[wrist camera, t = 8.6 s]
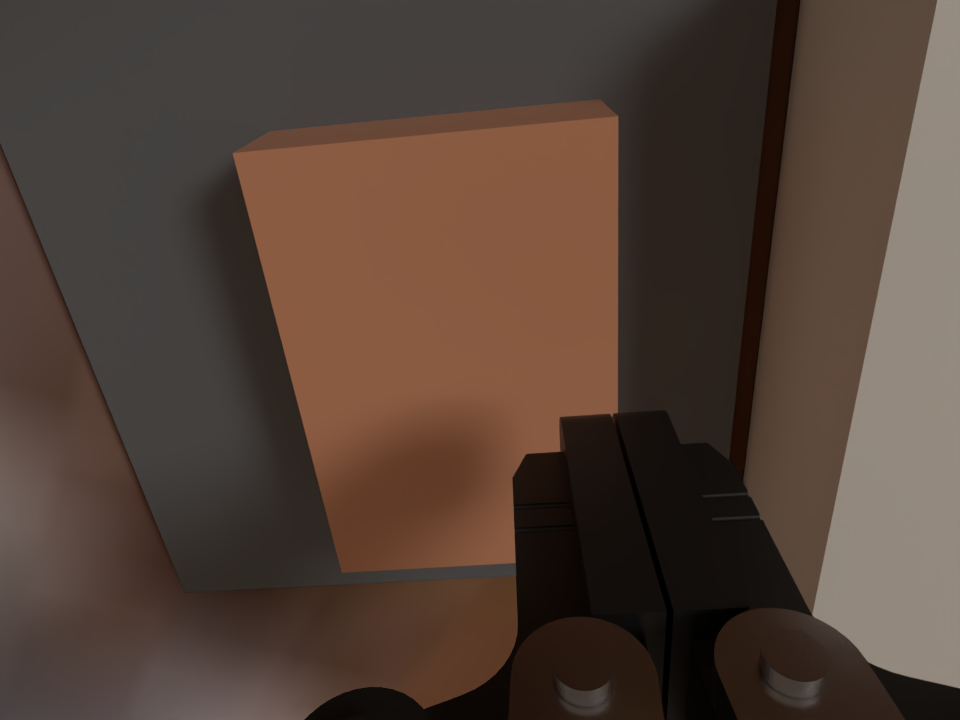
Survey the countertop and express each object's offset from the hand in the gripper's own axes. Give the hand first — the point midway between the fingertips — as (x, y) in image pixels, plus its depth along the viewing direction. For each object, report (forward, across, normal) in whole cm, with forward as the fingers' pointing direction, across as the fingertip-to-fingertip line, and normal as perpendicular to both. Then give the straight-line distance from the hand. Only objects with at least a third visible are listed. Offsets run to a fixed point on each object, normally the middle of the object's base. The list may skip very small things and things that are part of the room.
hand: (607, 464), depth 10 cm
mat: (+5, +4, 0) cm, 6 cm away
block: (+3, +2, 0) cm, 4 cm away
